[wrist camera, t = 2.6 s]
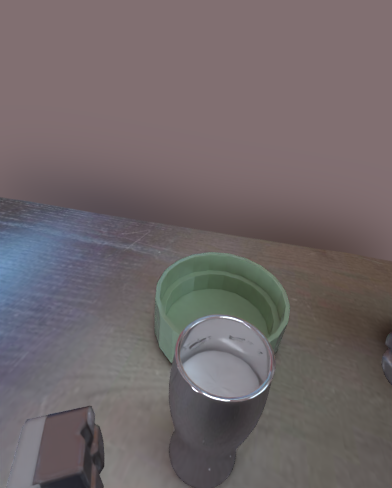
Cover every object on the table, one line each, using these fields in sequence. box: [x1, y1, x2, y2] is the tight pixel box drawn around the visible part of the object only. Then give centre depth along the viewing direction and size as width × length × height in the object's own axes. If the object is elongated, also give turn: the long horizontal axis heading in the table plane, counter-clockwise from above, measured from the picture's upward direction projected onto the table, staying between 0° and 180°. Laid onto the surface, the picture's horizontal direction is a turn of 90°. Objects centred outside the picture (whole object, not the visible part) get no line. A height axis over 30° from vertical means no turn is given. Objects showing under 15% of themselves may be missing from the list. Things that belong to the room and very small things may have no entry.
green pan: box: [154, 252, 290, 363], centre depth 41 cm, size 15×15×6 cm
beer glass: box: [169, 314, 275, 488], centre depth 27 cm, size 7×7×15 cm
